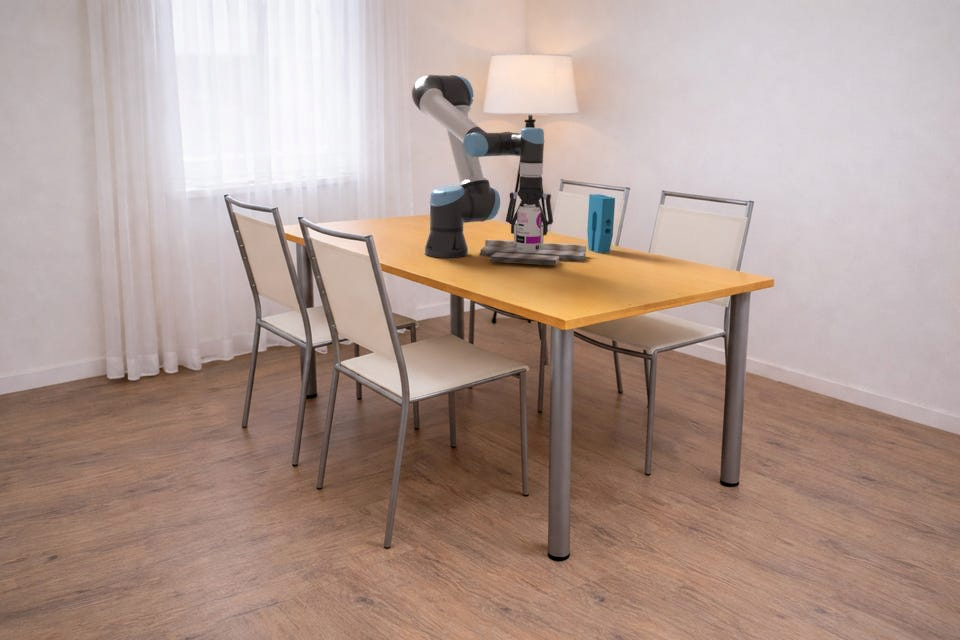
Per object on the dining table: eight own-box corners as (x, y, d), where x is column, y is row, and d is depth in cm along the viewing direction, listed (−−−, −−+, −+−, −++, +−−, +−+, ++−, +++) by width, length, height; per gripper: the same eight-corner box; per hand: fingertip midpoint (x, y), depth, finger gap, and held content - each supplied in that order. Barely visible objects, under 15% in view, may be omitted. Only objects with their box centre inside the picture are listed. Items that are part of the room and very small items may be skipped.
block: (612, 253, 313) (616, 198, 308) (600, 254, 311) (603, 198, 306) (597, 247, 324) (600, 194, 318) (585, 248, 322) (588, 194, 317)
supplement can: (543, 249, 292) (545, 205, 288) (536, 253, 285) (538, 208, 281) (520, 247, 295) (521, 204, 291) (513, 251, 287) (514, 206, 283)
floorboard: (479, 256, 302) (480, 244, 301) (485, 250, 312) (486, 239, 311) (583, 262, 296) (583, 250, 294) (585, 256, 306) (586, 245, 305)
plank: (489, 261, 287) (489, 256, 287) (495, 257, 299) (495, 252, 298) (555, 265, 283) (555, 260, 283) (559, 260, 295) (559, 256, 294)
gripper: (564, 176, 285) (561, 244, 291) (501, 173, 289) (499, 240, 295) (561, 178, 278) (558, 247, 284) (497, 175, 282) (495, 244, 287)
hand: (528, 244), depth 289 cm, fingers closed on supplement can, 8 cm apart
